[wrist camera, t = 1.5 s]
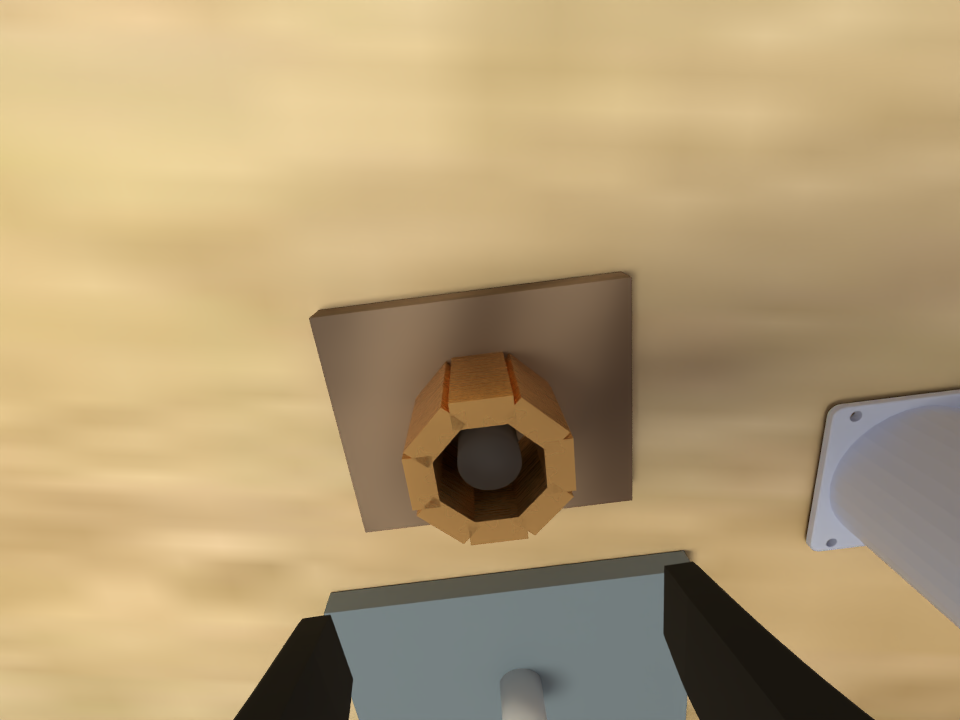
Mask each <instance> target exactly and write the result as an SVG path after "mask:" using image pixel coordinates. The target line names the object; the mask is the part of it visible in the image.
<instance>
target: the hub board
mask: <svg viewBox="0 0 960 720" xmlns="http://www.w3.org/2000/svg"><path fill="white" fill-rule="evenodd" d="M686 562H690V561H689V559H688V557H687V556H686V554H685V552H684V551H677V552H669V553H661V554H652V555H644V556H635V557H627V558H619V559H610V560H602V561H594V562H585V563H577V564H569V565H560V566H552V567H544V568H535V569H527V570H519V571H510V572H502V573H494V574H485V575H477V576H469V577H460V578H452V579H444V580H435V581H427V582H419V583H410V584H402V585H394V586H385V587H377V588H369V589H360V590H352V591H343V592H335V593H330V596H329V599H328V603H327V606H326V609H325V612H324V615H331V617H332V620H333V623H334V626H335V628H336V631H337V634H338V637H339V640H340V643H341V646H342V648H343V651H344V654H345V657H346V660H347V663H348V666H349V668H350V671H351V674H352V677H353V686H352V695H351V697H352V700H353V703H354V706H355V709H356V712H357V715H358V718H359V720H686V706H687V693H686V691H685V689H684V686H683V684H682V681H681V679H680V676H679V674H678V671H677V669H676V666H675V664H674V661H673V658H672V656H671V653H670V650H669V648H668V645H667V642H666V640H665V637H664V634H663V619H664V566H666V565H672V564H679V563H686Z"/></svg>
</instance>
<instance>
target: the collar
mask: <svg viewBox="0 0 960 720" xmlns="http://www.w3.org/2000/svg"><path fill="white" fill-rule="evenodd" d="M504 424H509V425H510V426H512V427H513V428H515V429H516V430H518V431H519V432H520V433H522V434H523V435H524V436H523V437H522V438H521V439H520V440H519V442H518V443H519V448H520V452H521V457H522V467H521V470H520V472H519V474H518V476H517V477H516V478H515V480H514V481H513V482H511V483H510V484H509V485H507V486H505V487H503V488H500V489H496V490H481V489H477V488H475V487H473V486H471V485H469V484H468V483H467V482H465V481H464V479H463V478H462V477H461V475H460V473H459V471H458V466H457V455H458V447H456V446H455V445H453V444H452V443H450V442H451V440H452V439H453V438H454V437H455V436H456V435H457V433H458V432H459V431H460V430H464V429H472V428H480V427H488V426H496V425H504ZM402 464H403V469H404V473H405V478H406V483H407V487H408V492H409V497H410V501H411V506H412V511H413V510H417V516H418V517H419V518H421V519H423V520H424V521H426V522H428V523H429V524H431V525H433V526H435V527H436V528H438V529H440V530H441V531H443V532H445V533H446V534H448V535H450V536H451V537H453V538H455V539H457V540H458V541H460V542H462V543H463V544H464V543H465V542H466V541H467V540H468V539H469V538H470V541H471V545H478V544H486V543H494V542H503V541H511V540H519V539H528V531H529V532H530V533H532V534H534V535H536V534H537V533H538V532H539V531H540V530H541V529H542V528H543V527H544V526H545V525H546V524H547V523H548V522H549V521H550V520H551V519H552V518H553V517H554V516H555V515H556V514H557V513H558V512H559V511H560V510H561V509H562V508H563V507H564V506H565V505H566V504H567V503H568V502H569V501H570V500H571V499H572V498H573V497H574V496H573V493H572V491H576V475H575V457H574V439H573V436H572V434H571V432H570V429H569V427H568V425H567V423H566V420H565V418H564V416H563V413H562V411H561V409H560V407H559V404H558V402H557V400H556V398H555V395H554V393H553V391H552V388H551V387H550V385H549V383H548V381H546V380H545V379H544V378H542V377H541V376H539V375H538V374H537V373H535V372H534V371H533V370H531V369H530V368H529V367H527V366H526V365H525V364H523V363H522V362H521V361H519V360H518V359H517V358H515V357H514V356H512V355H511V354H510V353H509V354H508V355H507V356H506V357H505V358H504V354H503V352H495V353H487V354H479V355H471V356H463V357H455V358H451V364H449V363H448V362H446V361H445V363H444V364H443V365H442V366H441V368H440V369H439V370H438V371H437V373H436V374H435V375H434V376H433V378H432V379H431V380H430V381H429V383H428V384H427V385H426V386H425V388H424V389H423V390H422V391H421V392H420V394H419V395H418V396H417V397H416V400H415V404H414V408H413V412H412V417H411V421H410V425H409V430H408V434H407V438H406V443H405V447H404V451H403V456H402Z"/></svg>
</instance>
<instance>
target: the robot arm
mask: <svg viewBox="0 0 960 720" xmlns="http://www.w3.org/2000/svg"><path fill="white" fill-rule="evenodd" d="M854 412H855V413H854ZM852 413H854V414H853V415H852V416H851V414H852ZM850 416H851V417H850ZM806 543H807V545H808V546H809V547H810V548H811V549H812V550H814V551H826V550H834V549H842V548H851V547H859V546H867V547H868V548H869V549H870V550H871V551H873V552H874V553H875V554H876V555H877V556H878V557H879V558H881V559H882V560H883V561H884V562H885V563H886V564H887V565H888V566H890V567H891V568H892V569H893V570H894V571H895V572H896V573H897V574H899V575H900V576H901V577H902V578H903V579H904V580H905V581H906V582H908V583H909V584H910V585H911V586H912V587H913V588H914V589H915V590H917V591H918V592H919V593H920V594H921V595H922V596H923V597H924V598H926V599H927V600H928V601H929V602H930V603H931V604H932V605H934V606H935V607H936V608H937V609H938V610H939V611H940V612H941V613H943V614H944V615H945V616H946V617H947V618H948V619H949V620H950V621H952V622H953V623H954V624H955V625H956V626H957V627H958V628H959V629H960V389H959V390H951V391H943V392H935V393H926V394H918V395H910V396H902V397H894V398H886V399H878V400H870V401H862V402H853V403H845V404H839V405H836V406H834V407H833V408H831V409H830V411H829V412H828V415H827V419H826V425H825V431H824V437H823V443H822V449H821V455H820V461H819V467H818V473H817V479H816V484H815V490H814V496H813V502H812V508H811V514H810V520H809V526H808V532H807V538H806ZM663 634H664V637H665V640H666V642H667V645H668V648H669V650H670V653H671V656H672V658H673V661H674V664H675V666H676V669H677V671H678V674H679V676H680V679H681V681H682V684H683V686H684V689H685V691H686V693H687V695H688V697H689V699H690V701H691V703H692V705H693V707H694V709H695V711H696V713H697V715H698V717H699V719H700V720H874V719H873V718H872V717H870V716H869V715H868V714H867V713H865V712H864V711H863V710H861V709H860V708H859V707H858V706H856V705H855V704H854V703H853V702H851V701H850V700H849V699H848V698H847V697H845V696H844V695H843V694H842V693H840V692H839V691H838V690H837V689H835V688H834V687H833V686H832V685H830V684H829V683H828V682H827V681H826V680H824V679H823V678H822V677H821V676H820V675H818V674H817V673H816V672H815V671H814V670H812V669H811V668H810V667H809V666H808V665H806V664H805V663H804V662H803V661H802V660H801V659H799V658H798V657H797V656H796V655H795V654H794V653H793V652H791V651H790V650H789V649H788V648H787V647H786V646H785V645H783V644H782V643H781V642H780V641H779V640H778V639H776V638H775V637H774V636H773V635H772V634H771V633H770V632H768V631H767V630H766V629H765V628H764V627H763V626H762V625H761V624H760V623H758V622H757V621H756V620H755V619H754V618H753V617H752V616H751V615H750V614H749V613H748V612H746V611H745V610H744V609H743V608H742V607H741V606H740V605H739V604H738V603H737V602H736V601H735V600H733V599H732V598H731V597H730V596H729V595H728V594H727V593H726V592H725V591H724V590H723V589H722V588H721V587H720V586H719V585H718V584H717V583H715V582H714V581H713V580H712V579H711V578H710V577H709V576H708V575H707V574H706V573H705V572H704V571H703V570H702V569H701V568H700V567H699V566H698V565H696V564H695V563H694V562H686V563H679V564H672V565H666V566H664V619H663ZM352 686H353V677H352V674H351V671H350V668H349V666H348V663H347V660H346V657H345V654H344V651H343V648H342V646H341V643H340V640H339V637H338V634H337V631H336V628H335V626H334V623H333V620H332V617H331V615H324V616H317V617H310V618H304V619H302V620H301V621H300V622H299V624H298V625H297V627H296V628H295V630H294V631H293V633H292V634H291V636H290V637H289V639H288V640H287V642H286V643H285V645H284V646H283V648H282V649H281V651H280V652H279V654H278V655H277V657H276V658H275V660H274V661H273V663H272V664H271V666H270V667H269V669H268V670H267V672H266V673H265V675H264V676H263V678H262V679H261V681H260V682H259V684H258V685H257V687H256V688H255V689H254V691H253V692H252V694H251V695H250V697H249V698H248V700H247V701H246V702H245V704H244V705H243V707H242V708H241V710H240V711H239V712H238V714H237V715H236V717H235V718H234V720H349V713H350V704H351V695H352Z"/></svg>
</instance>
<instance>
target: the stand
mask: <svg viewBox="0 0 960 720" xmlns="http://www.w3.org/2000/svg"><path fill="white" fill-rule="evenodd" d="M309 320H310V324H311V328H312V332H313V335H314V339H315V343H316V347H317V351H318V354H319V358H320V362H321V366H322V369H323V373H324V377H325V381H326V385H327V388H328V392H329V396H330V400H331V404H332V407H333V411H334V415H335V419H336V422H337V426H338V430H339V434H340V438H341V441H342V445H343V449H344V453H345V456H346V460H347V464H348V468H349V472H350V475H351V479H352V483H353V487H354V490H355V494H356V498H357V502H358V506H359V509H360V513H361V517H362V521H363V525H364V528H365V532H374V531H382V530H390V529H398V528H407V527H415V526H423V525H431V524H429V523H428V522H426V521H424V520H423V519H421V518H419V517H418V516H417V510H413V511H412V506H411V501H410V497H409V492H408V487H407V483H406V478H405V473H404V469H403V464H402V456H403V451H404V447H405V443H406V438H407V434H408V430H409V425H410V421H411V417H412V412H413V408H414V404H415V400H416V397H417V396H418V395H419V394H420V392H421V391H422V390H423V389H424V388H425V386H426V385H427V384H428V383H429V381H430V380H431V379H432V378H433V376H434V375H435V374H436V373H437V371H438V370H439V369H440V368H441V366H442V365H443V364H444V363H445V361H446V362H448V363H449V364H451V358H455V357H463V356H471V355H479V354H487V353H495V352H503V354H504V358H505V357H506V356H507V355H508V354H509V353H510V354H511V355H512V356H514V357H515V358H517V359H518V360H519V361H521V362H522V363H523V364H525V365H526V366H527V367H529V368H530V369H531V370H533V371H534V372H535V373H537V374H538V375H539V376H541V377H542V378H544V379H545V380H546V381H548V383H549V385H550V387H551V388H552V391H553V393H554V395H555V398H556V400H557V402H558V404H559V407H560V409H561V411H562V413H563V416H564V418H565V420H566V423H567V425H568V427H569V429H570V432H571V434H572V436H573V439H574V457H575V475H576V491H572V493H573V496H574V497H573V498H572V499H571V500H570V501H569V502H568V503H567V504H566V505H565V506H564V507H563V508H571V507H580V506H588V505H596V504H604V503H613V502H621V501H629V500H632V277H630V276H628V275H626V274H625V273H623V272H615V273H607V274H599V275H591V276H583V277H575V278H568V279H560V280H552V281H544V282H536V283H528V284H520V285H513V286H505V287H497V288H489V289H481V290H473V291H466V292H458V293H450V294H442V295H434V296H426V297H418V298H411V299H403V300H395V301H387V302H379V303H371V304H364V305H356V306H348V307H340V308H332V309H324V310H318V311H317V312H316V313H315V314H314V315H312V316H311V317H310V318H309ZM523 436H524V435H523V434H522V433H520V432H519V431H518V430H516V429H515V428H513V427H512V426H510V425H509V424H504V425H496V426H488V427H480V428H472V429H464V430H460V431H459V432H458V433H457V435H456V436H455V437H454V438H453V439H452V440H451V442H450V443H452V444H453V445H455V446H456V447H458V455H457V466H458V471H459V473H460V475H461V477H462V478H463V479H464V481H465V482H467V483H468V484H469V485H471V486H473V487H475V488H477V489H481V490H496V489H500V488H503V487H505V486H507V485H509V484H510V483H511V482H513V481H514V480H515V478H516V477H517V476H518V474H519V472H520V470H521V467H522V457H521V452H520V448H519V443H518V442H519V440H520V439H521V438H522V437H523ZM563 508H562V509H563Z"/></svg>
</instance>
